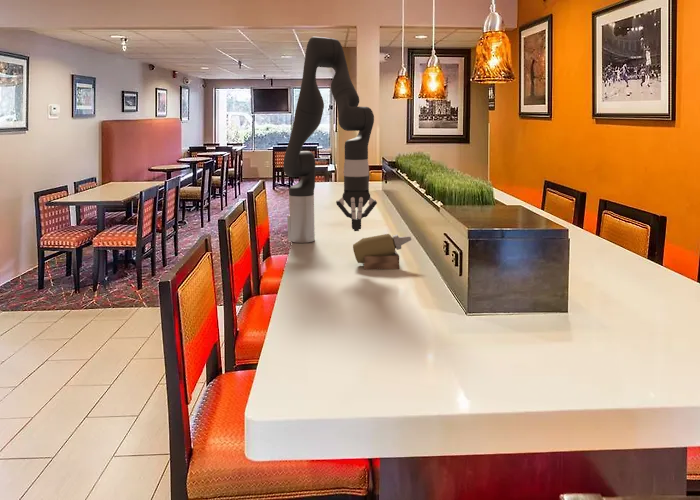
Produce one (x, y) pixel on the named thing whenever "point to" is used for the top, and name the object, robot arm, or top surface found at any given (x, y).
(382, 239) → the squeeze bottle
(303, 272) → the top surface
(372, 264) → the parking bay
